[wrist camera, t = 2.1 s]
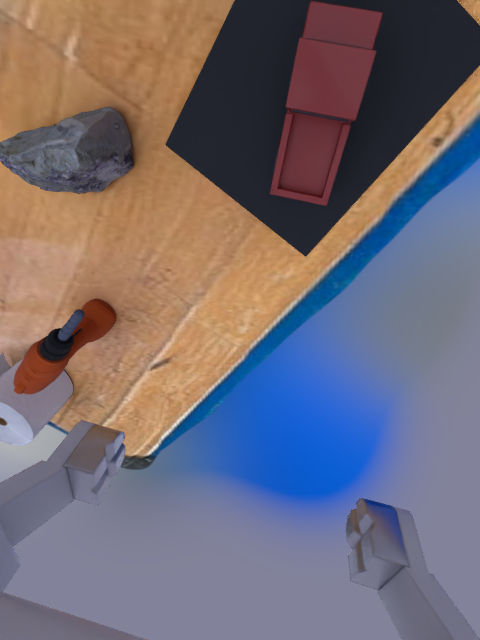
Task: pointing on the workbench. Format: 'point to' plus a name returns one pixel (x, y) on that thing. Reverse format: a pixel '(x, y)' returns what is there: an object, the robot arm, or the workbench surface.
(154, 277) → the workbench surface
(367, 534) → the robot arm
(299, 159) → the toy pickup truck
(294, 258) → the workbench surface
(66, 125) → the mineral rock
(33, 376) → the toy drill
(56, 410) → the toilet tissue
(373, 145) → the mat
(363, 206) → the workbench surface
